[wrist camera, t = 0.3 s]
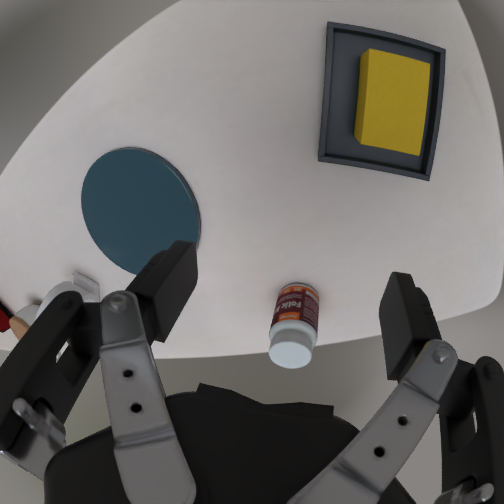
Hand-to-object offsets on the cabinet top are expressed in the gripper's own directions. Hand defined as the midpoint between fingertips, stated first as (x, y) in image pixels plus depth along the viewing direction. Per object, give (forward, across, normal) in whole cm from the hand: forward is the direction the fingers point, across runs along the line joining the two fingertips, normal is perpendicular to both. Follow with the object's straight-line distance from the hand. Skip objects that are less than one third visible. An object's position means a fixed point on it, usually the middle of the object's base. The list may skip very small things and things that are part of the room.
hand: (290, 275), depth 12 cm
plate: (+16, +18, +7) cm, 25 cm away
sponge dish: (+16, -6, -7) cm, 19 cm away
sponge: (+16, -6, -7) cm, 19 cm away
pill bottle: (+16, -1, +15) cm, 22 cm away
